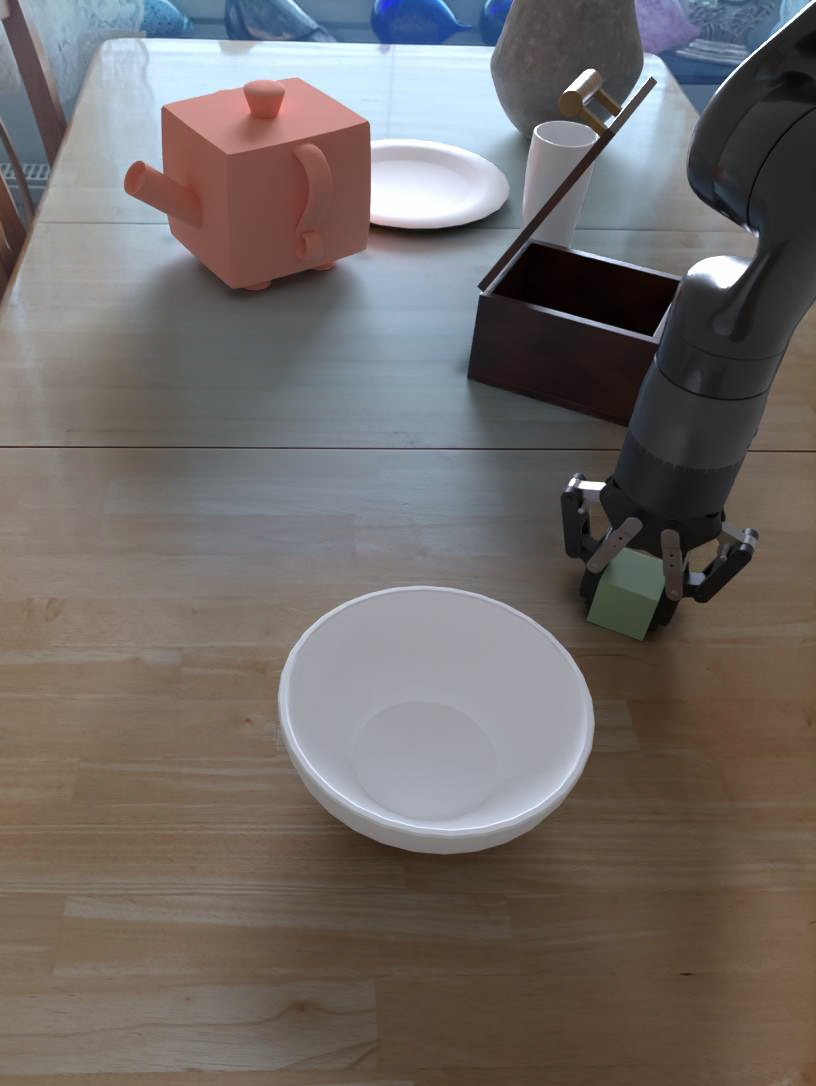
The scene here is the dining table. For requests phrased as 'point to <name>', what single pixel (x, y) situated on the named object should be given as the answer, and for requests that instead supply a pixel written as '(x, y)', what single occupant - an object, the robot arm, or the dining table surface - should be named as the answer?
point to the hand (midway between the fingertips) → (623, 610)
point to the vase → (564, 56)
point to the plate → (432, 186)
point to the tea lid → (571, 106)
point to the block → (628, 594)
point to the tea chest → (571, 329)
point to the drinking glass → (556, 178)
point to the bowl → (435, 718)
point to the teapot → (262, 180)
